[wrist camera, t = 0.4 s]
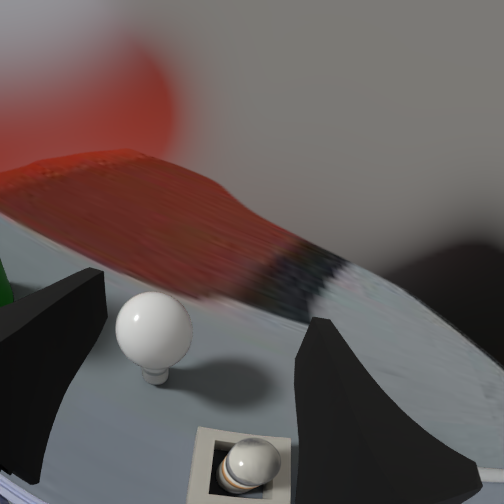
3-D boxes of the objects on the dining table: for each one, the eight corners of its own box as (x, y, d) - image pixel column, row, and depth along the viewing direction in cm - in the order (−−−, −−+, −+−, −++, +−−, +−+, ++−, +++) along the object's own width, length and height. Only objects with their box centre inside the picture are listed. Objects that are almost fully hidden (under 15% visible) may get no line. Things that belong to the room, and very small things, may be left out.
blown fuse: (255, 495, 19) (280, 485, 15) (212, 491, 19) (225, 481, 15) (257, 460, 22) (281, 440, 18) (217, 455, 22) (230, 434, 18)
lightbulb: (141, 342, 30) (138, 265, 24) (195, 365, 30) (208, 292, 23) (114, 386, 25) (95, 316, 18) (172, 414, 24) (175, 353, 18)
